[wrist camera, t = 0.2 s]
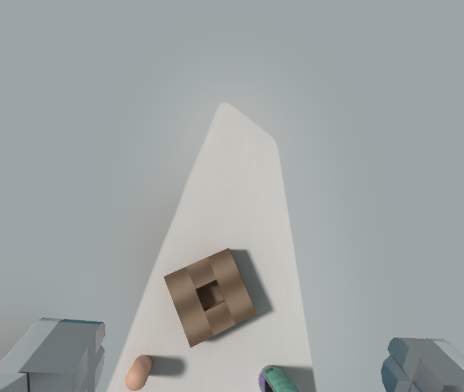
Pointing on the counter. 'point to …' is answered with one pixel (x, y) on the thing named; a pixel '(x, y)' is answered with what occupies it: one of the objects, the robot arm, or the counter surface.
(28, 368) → the robot arm
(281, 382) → the spray can
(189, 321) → the bore block
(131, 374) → the pin
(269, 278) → the counter surface
